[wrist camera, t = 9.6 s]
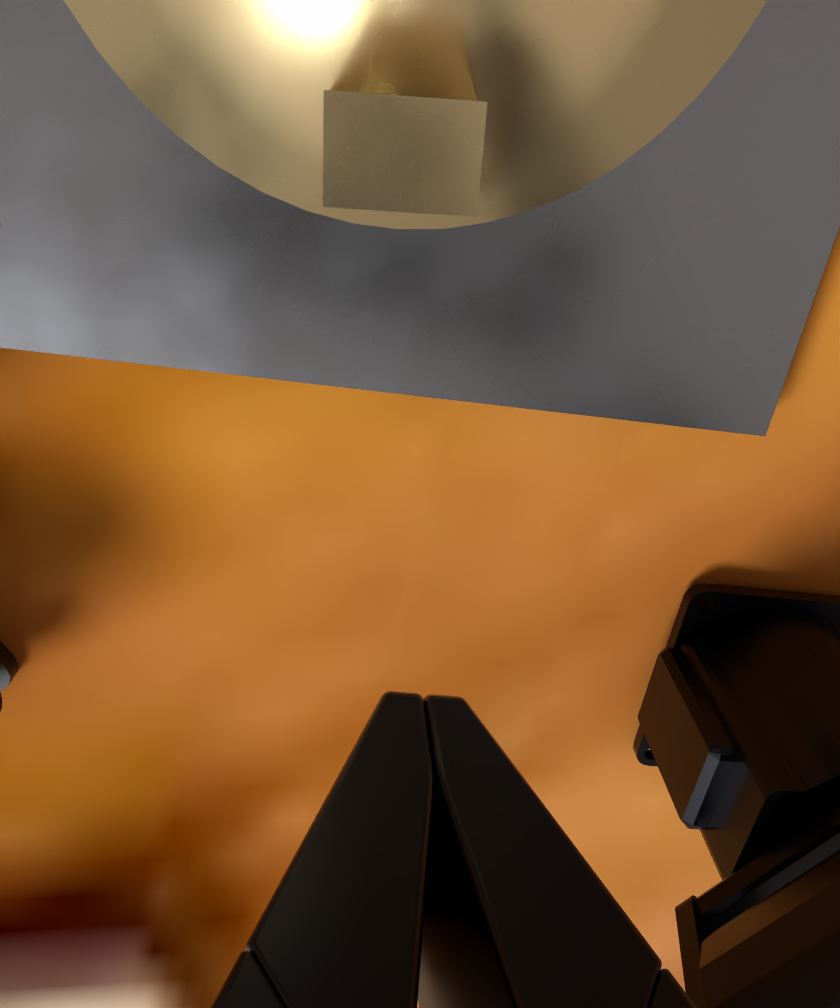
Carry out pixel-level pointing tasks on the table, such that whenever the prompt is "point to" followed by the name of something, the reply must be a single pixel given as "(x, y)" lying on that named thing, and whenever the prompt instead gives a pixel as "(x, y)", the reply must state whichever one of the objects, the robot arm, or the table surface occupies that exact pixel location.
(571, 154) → the gold disc with bar
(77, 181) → the flange plate
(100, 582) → the table surface
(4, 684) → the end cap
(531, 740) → the table surface
